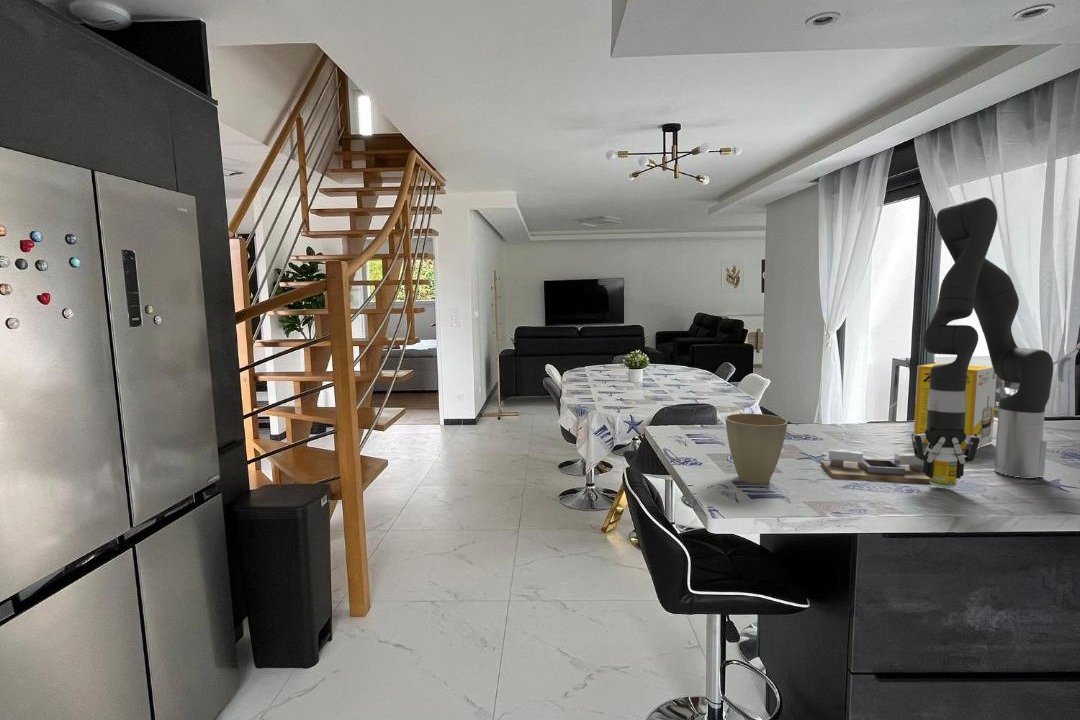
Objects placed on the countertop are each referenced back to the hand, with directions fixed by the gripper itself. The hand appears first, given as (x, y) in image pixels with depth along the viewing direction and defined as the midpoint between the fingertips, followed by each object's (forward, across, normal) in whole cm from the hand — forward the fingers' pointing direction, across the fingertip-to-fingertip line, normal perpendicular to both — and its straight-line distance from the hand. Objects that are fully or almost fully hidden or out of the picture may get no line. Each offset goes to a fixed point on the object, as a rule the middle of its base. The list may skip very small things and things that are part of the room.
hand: (942, 476), depth 138 cm
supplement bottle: (+2, 0, 0) cm, 2 cm away
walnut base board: (+3, +10, -10) cm, 15 cm away
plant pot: (+3, +43, +2) cm, 44 cm away
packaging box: (+4, -25, -54) cm, 60 cm away
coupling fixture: (+2, +10, -10) cm, 15 cm away
